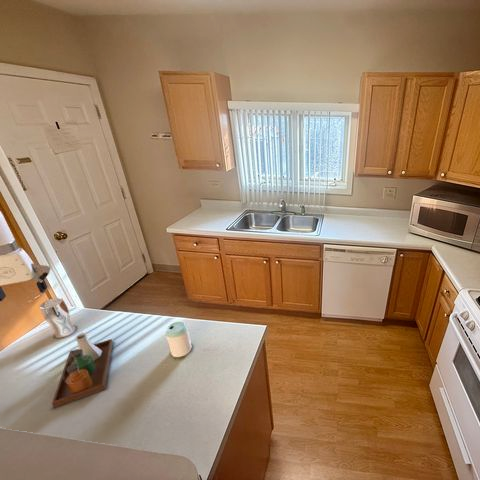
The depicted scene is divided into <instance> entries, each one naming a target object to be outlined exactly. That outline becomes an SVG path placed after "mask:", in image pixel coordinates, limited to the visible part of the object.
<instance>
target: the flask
mask: <svg viewBox="0 0 480 480" xmlns="http://www.w3.org/2000/svg"><path fill="white" fill-rule="evenodd" d="M87 336H88V334H87V333H86V332H83V333H79V334H78V335H76V336H75V337H74V340H75V341H76V342H77V349H78V350H79V349H81V350H82V351H83V355H90V356H91V357H92V360H93V361H94V360H96V359H98V358H99V357H100V356H101V354H102V350H100V349H99V348H98V347H96V346H95V345H93V344H94V343H92V342H91V341H90V340H89V338H88V337H87Z"/></svg>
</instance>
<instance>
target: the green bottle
mask: <svg viewBox="0 0 480 480" xmlns="http://www.w3.org/2000/svg"><path fill="white" fill-rule="evenodd" d="M75 350H76V349H75ZM72 356H73V357H74V358H75V360H74V361H73V362H72V364H78V366H79V370H81V369H86V370H87V371H88V373H89V375H92V374H93V373H94V372H95V370H96V366H95V364H94V362H93V360H92V357H91V356H90V355H83V351H82V350H81V349H79V350H76V351H74V352H73V353H72ZM72 364H71V365H72Z"/></svg>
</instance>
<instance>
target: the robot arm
mask: <svg viewBox="0 0 480 480" xmlns="http://www.w3.org/2000/svg"><path fill="white" fill-rule="evenodd" d="M51 268H52V267H51V266H50V265H43V264H36V263H34V261H33V260H32V259H31V257H30V256H29V254H28V253H27V251H25V250H24V248H22V247H20V246H19V245H18V243H17V241H16V239H15V237H14V235H13V233H12V230H11V229H10V226H9V225H8V223H7V220H6V218H5V216H4V214H3V212H2V211H1V210H0V302H2V301H4V299H5V298H6V297H7V295H6V293H5V291H4V290H3V286H6V285H12V284H17V283H23V282H28V281H31V280H32V281H34V282H36V283H35V284H36V287H37V288H38V291H39V293H40V294H43V293H45V292H46V290H47V289H48V284H47V282H46V280H45V279H46V277H48V276H49V274H50V271H51ZM38 271H42V274H41V273H39V272H38Z"/></svg>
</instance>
